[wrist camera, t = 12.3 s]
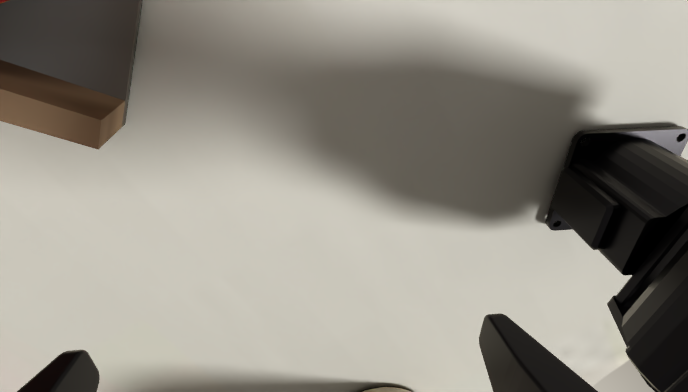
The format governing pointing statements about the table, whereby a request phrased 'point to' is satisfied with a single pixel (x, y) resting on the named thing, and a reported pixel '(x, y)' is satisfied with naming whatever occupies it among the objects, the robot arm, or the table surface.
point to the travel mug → (387, 390)
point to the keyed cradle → (67, 66)
